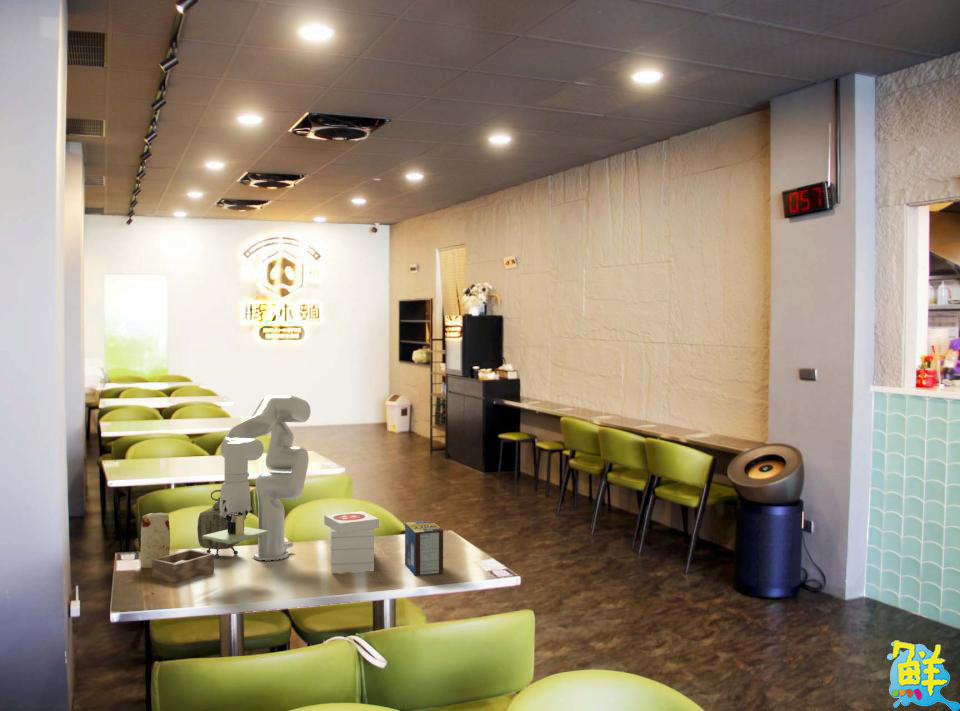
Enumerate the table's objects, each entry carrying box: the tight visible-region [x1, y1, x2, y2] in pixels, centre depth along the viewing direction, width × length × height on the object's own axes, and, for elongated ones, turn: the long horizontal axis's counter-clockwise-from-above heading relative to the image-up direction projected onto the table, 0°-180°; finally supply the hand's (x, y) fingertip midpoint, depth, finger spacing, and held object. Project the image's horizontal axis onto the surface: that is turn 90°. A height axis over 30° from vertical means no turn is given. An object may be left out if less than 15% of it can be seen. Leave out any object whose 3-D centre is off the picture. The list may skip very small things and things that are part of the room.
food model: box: [140, 512, 171, 569], centre depth 292 cm, size 10×7×20 cm
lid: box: [202, 514, 268, 544], centre depth 278 cm, size 17×13×8 cm
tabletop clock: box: [196, 489, 240, 559], centre depth 308 cm, size 14×9×25 cm, turn 84°
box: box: [151, 549, 215, 584], centre depth 282 cm, size 16×12×7 cm
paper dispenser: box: [323, 510, 380, 574], centre depth 301 cm, size 19×30×18 cm, turn 11°
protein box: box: [404, 520, 444, 577], centre depth 294 cm, size 10×15×16 cm
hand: (235, 531), depth 278 cm, fingers closed on lid, 3 cm apart
